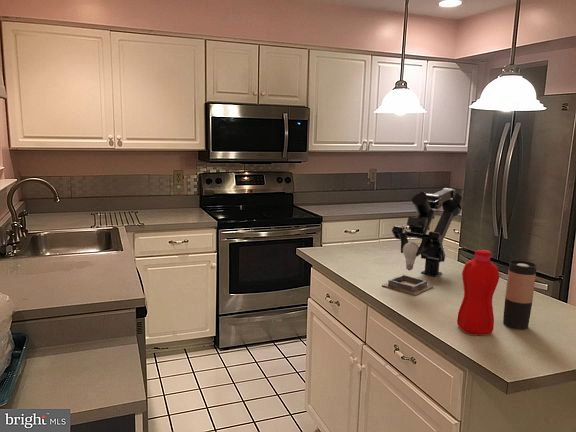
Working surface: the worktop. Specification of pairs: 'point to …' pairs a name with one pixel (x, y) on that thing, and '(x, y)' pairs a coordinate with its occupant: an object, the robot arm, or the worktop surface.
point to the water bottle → (478, 295)
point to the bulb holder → (408, 285)
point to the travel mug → (519, 294)
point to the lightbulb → (410, 254)
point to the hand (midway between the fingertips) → (409, 254)
